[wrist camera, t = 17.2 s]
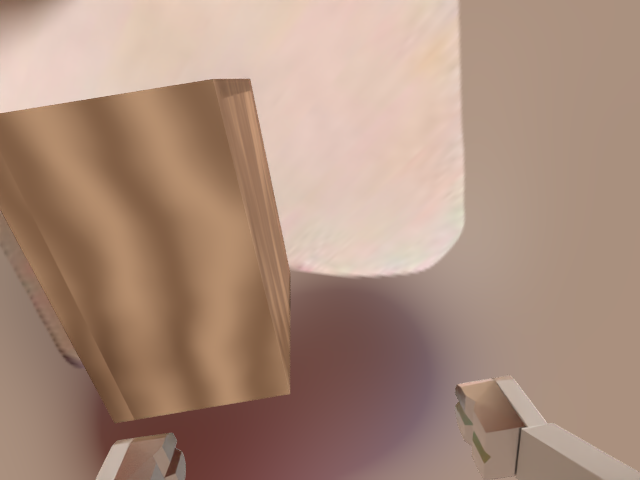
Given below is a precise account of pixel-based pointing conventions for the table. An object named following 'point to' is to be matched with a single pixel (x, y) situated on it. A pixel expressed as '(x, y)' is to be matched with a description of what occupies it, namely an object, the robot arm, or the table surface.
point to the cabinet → (155, 242)
